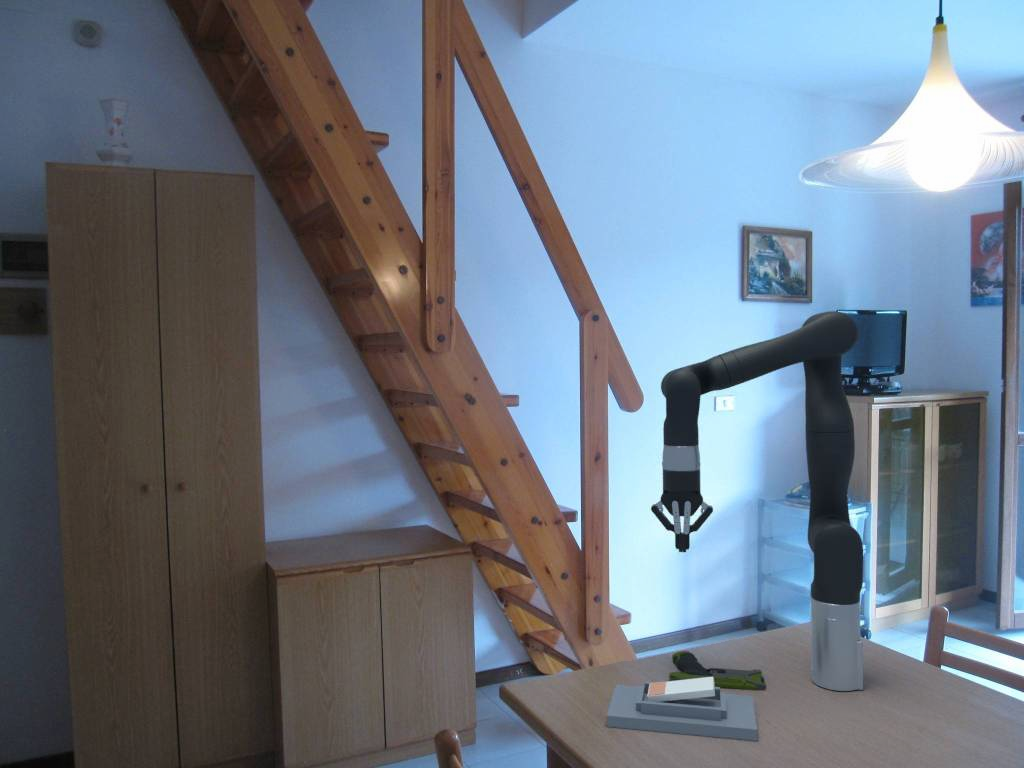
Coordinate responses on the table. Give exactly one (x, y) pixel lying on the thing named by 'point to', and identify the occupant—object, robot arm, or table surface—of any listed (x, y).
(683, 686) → the rocker
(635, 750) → the table surface
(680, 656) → the gun
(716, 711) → the panel
